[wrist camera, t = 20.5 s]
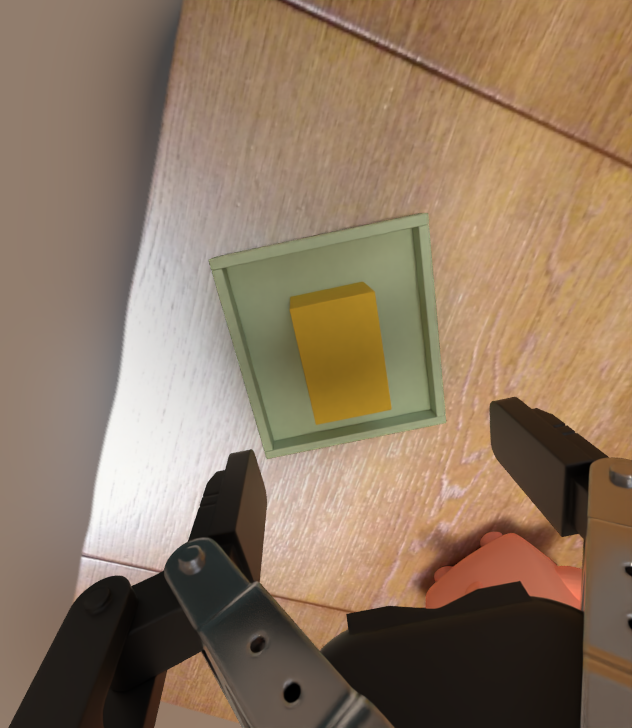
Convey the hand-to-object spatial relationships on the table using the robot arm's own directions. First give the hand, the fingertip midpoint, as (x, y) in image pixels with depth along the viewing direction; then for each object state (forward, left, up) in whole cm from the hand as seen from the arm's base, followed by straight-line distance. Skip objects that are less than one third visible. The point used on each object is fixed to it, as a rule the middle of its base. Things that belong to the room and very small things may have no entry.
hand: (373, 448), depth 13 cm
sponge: (0, 0, -12) cm, 12 cm away
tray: (0, 0, -13) cm, 13 cm away
